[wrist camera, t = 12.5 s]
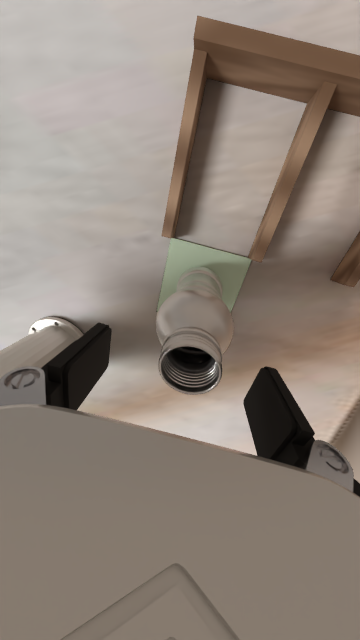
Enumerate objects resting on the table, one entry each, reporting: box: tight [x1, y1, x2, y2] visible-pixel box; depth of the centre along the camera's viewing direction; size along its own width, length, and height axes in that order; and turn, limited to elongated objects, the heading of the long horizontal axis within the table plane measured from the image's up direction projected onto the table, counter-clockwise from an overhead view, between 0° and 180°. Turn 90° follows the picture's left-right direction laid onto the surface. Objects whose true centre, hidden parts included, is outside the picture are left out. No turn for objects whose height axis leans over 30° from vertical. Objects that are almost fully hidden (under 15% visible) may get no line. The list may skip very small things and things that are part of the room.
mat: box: [157, 238, 251, 313], centre depth 28 cm, size 12×12×1 cm
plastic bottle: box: [156, 267, 234, 395], centre depth 19 cm, size 6×7×20 cm
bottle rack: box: [162, 16, 360, 287], centre depth 20 cm, size 17×26×4 cm
